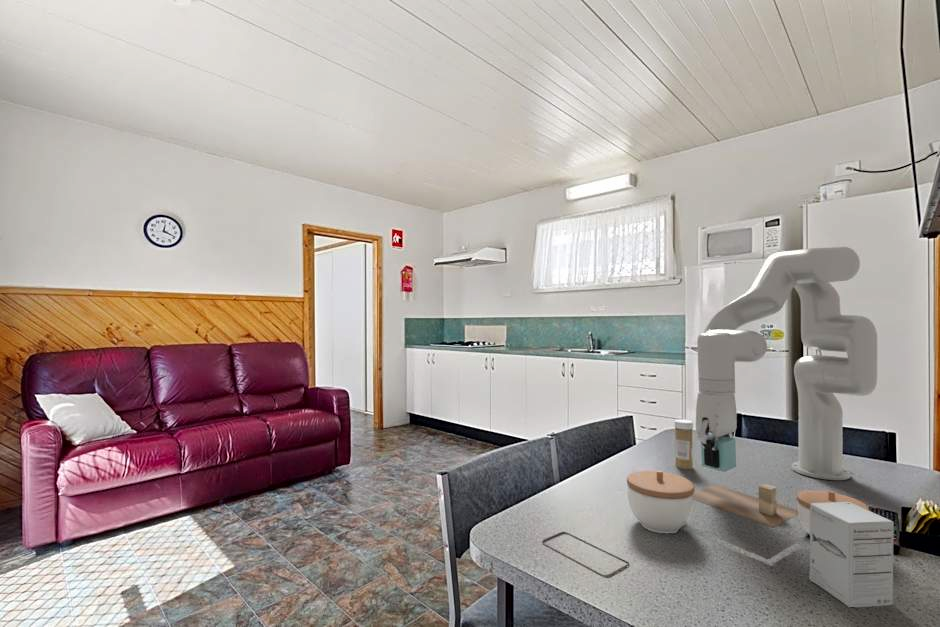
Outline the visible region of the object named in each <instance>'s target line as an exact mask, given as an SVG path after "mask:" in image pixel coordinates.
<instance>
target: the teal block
mask: <svg viewBox="0 0 940 627" xmlns="http://www.w3.org/2000/svg"><path fill="white" fill-rule="evenodd" d="M710 435H711V436H713V435H712V433H711V434H710ZM709 440H711V442H712V443H713V438H709ZM700 444H701V445H700V452H701V467H704V468H709V469H710V470H711V469H712V470H714V471H715V470H716V471H719V472H722V473H725V472H728V471H730V470H732V469H735V468H737V453H736V452H737V451H736V449H737V448H736V446H737V445H736V438H734V437H733V438H730V437H725V436H721V437H718V445H717V450H719V468H715V467H711V466H707V465H705V463H704V448H703V444H702V443H701V442H700Z"/></svg>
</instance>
